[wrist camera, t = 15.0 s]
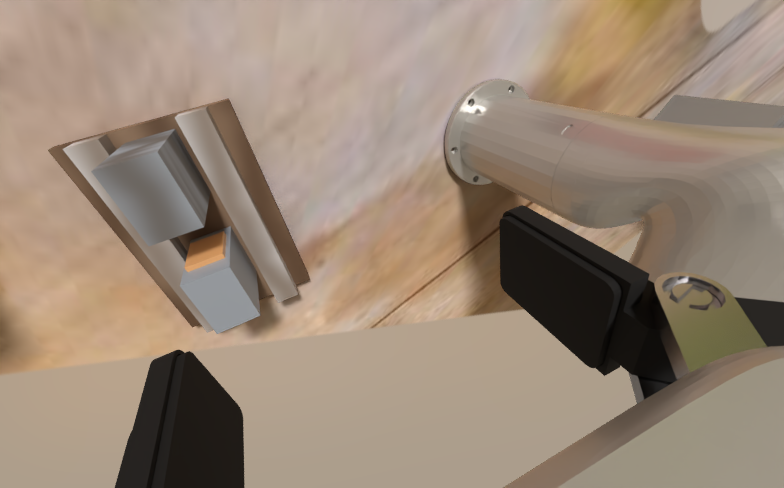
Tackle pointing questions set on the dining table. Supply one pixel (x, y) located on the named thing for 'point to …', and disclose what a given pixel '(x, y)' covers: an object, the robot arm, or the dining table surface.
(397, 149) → the dining table surface
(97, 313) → the dining table surface
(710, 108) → the perfume bottle
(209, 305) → the block
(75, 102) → the dining table surface
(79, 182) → the rail
